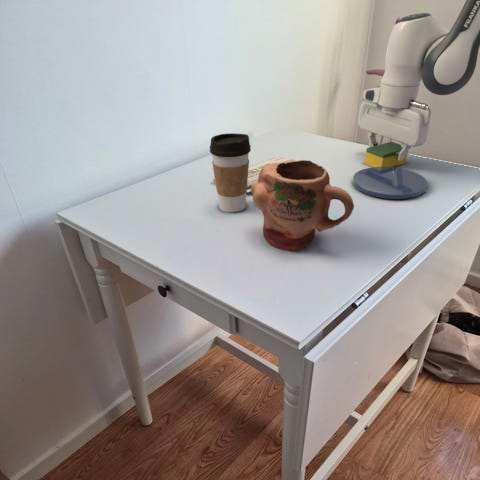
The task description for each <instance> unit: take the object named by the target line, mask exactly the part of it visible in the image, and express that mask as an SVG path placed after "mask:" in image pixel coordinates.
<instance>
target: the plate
mask: <svg viewBox="0 0 480 480" xmlns="http://www.w3.org/2000/svg"><path fill="white" fill-rule="evenodd" d="M352 184H353V186H354V188H356V189H357V190H358V191H359V192H361V193H364V194H366V195H368V196H372V197H376V198H381V199H389V200H403V199H411V198H415V197H416V198H417V197H418V196H421V195H423V194H424V193H425V192H426V191H427V188H428V181H427V179H426V178H425V177H424V176H423V175H421V174H420V173H417V172H414V171H413V170H410V169H405V168H400V167H396V166H394V167H372V166H371V167H367V168H363V169H361V170H358V171H357V172H355V173H354V175H352Z"/></svg>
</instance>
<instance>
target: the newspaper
mask: <svg viewBox="0 0 480 480" xmlns="http://www.w3.org/2000/svg"><path fill="white" fill-rule="evenodd" d="M288 161H298V160H297V159H294V158H290V157H284V156H277V157H273V158H270V159H267V160H265V161H262V162H258V163H256V164H253V165H251V166H250V165H249V168H248V180H247V192H246V193H250V192H251V187H252V185H253V184H254V183H255V182H256V181H258V177H259V173H260V171H261V170H262V168H264V167H266V166H268V165H270V164H272V163H282V162H288ZM212 181H213V183H214V184H216V182H215V178H213V179H212Z"/></svg>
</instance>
